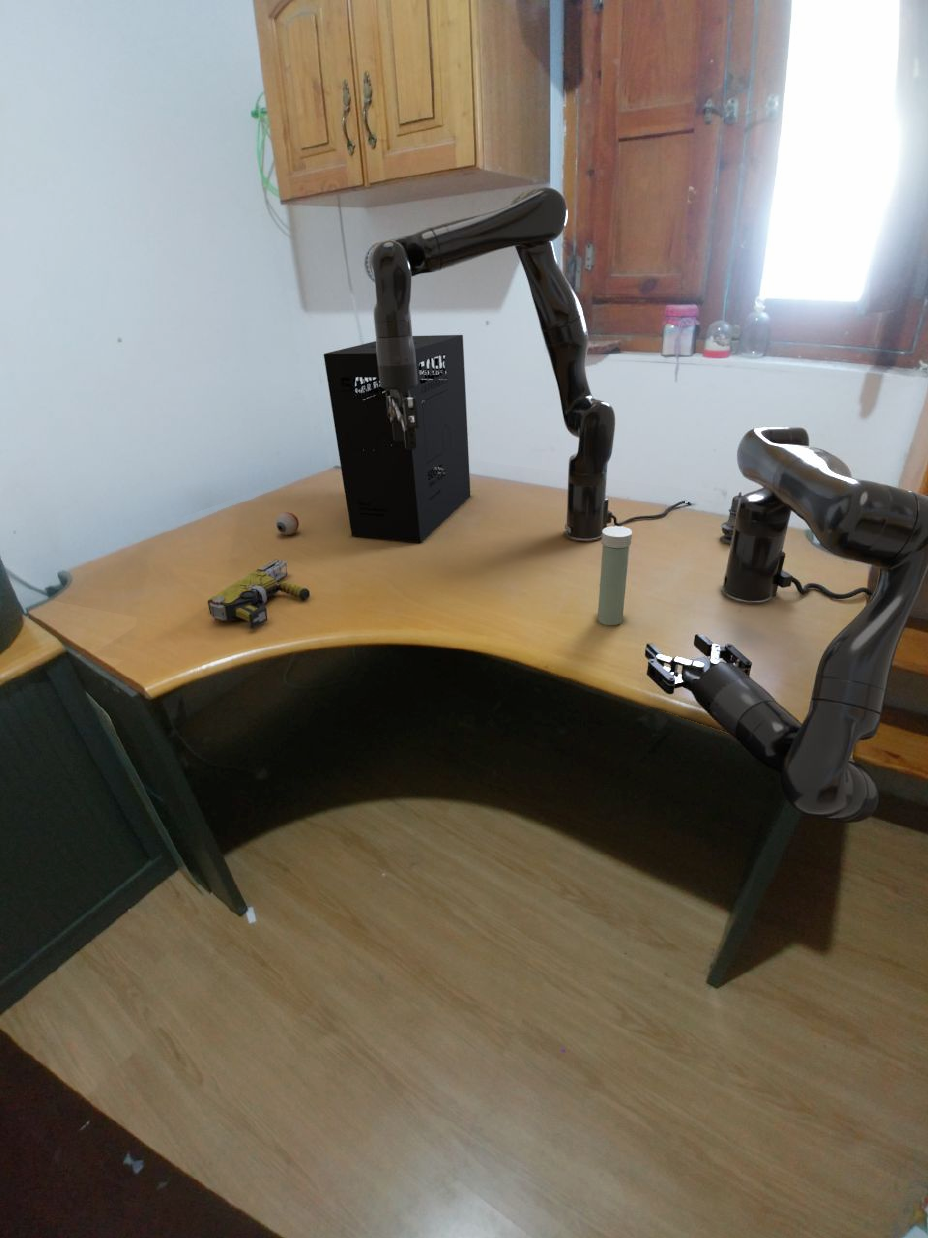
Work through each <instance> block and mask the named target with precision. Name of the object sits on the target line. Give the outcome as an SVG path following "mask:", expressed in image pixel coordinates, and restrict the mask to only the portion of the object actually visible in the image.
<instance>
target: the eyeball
mask: <svg viewBox="0 0 928 1238" xmlns="http://www.w3.org/2000/svg"><path fill="white" fill-rule="evenodd" d="M299 525H300V522H299V519H298V517H297V516H296V515H295V514H294V513H292V512H287V511H286V512H282V513H280V514H279V515H278V516H277V517H276V520H275V527H276V529H277V530H278V531H279V532H280V533H281V534H282V535H285V536H286V535H287V536H289V535H293V534H295V533H296V532H297V531H298V529H299Z"/></svg>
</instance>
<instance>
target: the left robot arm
mask: <svg viewBox="0 0 928 1238" xmlns="http://www.w3.org/2000/svg"><path fill="white" fill-rule="evenodd" d="M568 217H569V209H568V204H567V201H566V199H565V198H564V196H563V195H562V194H561V192H559V190H557V189H555V188H553V187H548V186H540V187H535V188H531V189H528V190H525V191H522V192H520V193H518V194H517V195H515V196H514V198H513V199H512V200H511V202H510V204H509V205H507V206H505V207H503V208H502V207H501V208H499V209H496V210H493V211H490V212H489V211H488V212H486V213H482V214H477V215H472V216H468V217H463V218H462V217H461V218H459V219H454V220H449V221H446V222H443V223H440V224H436V225H433V226H429V227H426V228H423V229H421V230H419V231H416V232H415V233H412V234H409V235H404V236H400V237H395V238H391V239H387V240H384V241H379V242H375V243H373V244H372V245H371V246H370V247H369V248H368V249H367V251H366V252H365V255H364V257H363V258H364V259H363V268H364V271H365V274H366V276H367V278H369V280H371V282H373V283H374V287H375V298H376V299H375V300H376V301H375V304H374V307H373V325H374V333H375V341H376V354H377V363H378V372H379V380H380V381H379V383H380V386H381V388H383V389H385V391H384V392H385V393H386V404H387V416H388V418H390V421H391V423H392V428H393V437H394V440H395V441H403V440H405V448H406V449H407V450H412V449H416V447H417V446H416V435H415V430H416V428H419V422H418V413H417V403H416V397H415V396H413V397H411V396H410V392H409V389H410V388H411V387H415V386H416V385H417V384H418V380H417V369H416V357H415V347H414V342H413V336H414V335H413V328H412V316H411V310H410V309H411V297H412V277H415V276H418V275H423V274H430V273H435V272H439V271H442V270H445V269H449V268H452V267H454V266H455V267H456V266H458V265H461V264H463V263H466V262H469V261H471V260H474V259H477V258H479V257H482V256H485V255H488V254H491V253H495V252H498V251H500V250H504V249H507V248H511V247H514V249H515V250H516V253H517V256H518V258H519V260H520V263H521V266H522V268H523V271H524V274H525V277H526V280H527V283H528V286H529V291H530V295H531V298H532V301H533V305H534V308H535V311H536V315H537V319H538V324H539V328H540V331H541V334H542V337H543V341H544V345H545V349H546V352H547V355H548V357H549V361H550V365H551V369H552V372H553V375H554V378H555V381H556V384H557V386H556V387H557V389H558V395H559V401H560V406H561V412H562V418H563V422H564V426H565V428H566V429H567V431H568V432H569V434H571V435H572V436H573V437H576V438H578V447H577V452H576V453H574V454H572V455H570V456H569V459H568V468H567V469H568V473H567V501H566V502H567V503H566V523H565V524H564V530H565V536H566V537H567V538H568V539H570V540H572V541H576V542H583V543H584V542H586V543H587V542H594V541H599V540H600V539H602V530H603V529H604V528H606V527H608V524H611V523H612V519H613V524H614V526H622V525H625V524H628V523H629V522H632V521H636V520H645V519H657V518H662V517H664V516H665V515H667V514H668V512H670V510H673V509H675V508H676V507H678V506H680V505H683V504H687V505H688V506H692V502H690V501H689V502H688V503H685V501H686V500H682V501H679V502H676V503H674V504H673V505H670V506H668V507H667V508H666V509H665V510H664V511H663V512H661V513H658V514H652V515H638V516H637V515H636V516H632V517H630V518H628V519H626V520H624V521H622V522H618V520H617V517H616V515H614V514H613V512H612V511H610V510H609V498H607V497H606V493H607V477H608V465H609V461H610V460H611V458H612V454H613V448H614V439H615V430H616V414H615V410H614V408H613V406H612V405H611V404H610V403H608V402H606V401H604V400H600V399H597V398H594V397H593V395H592V394H593V393H592V392H591V389H590V386H589V381H588V378H587V373H586V363H587V356H588V349H589V333H588V327H587V323H586V319H585V315H584V311H583V308H582V305H581V302H580V300H579V297H578V295H577V294H576V292H575V290H574V289H573V287H572V285H571V284H570V282H569V280H568V279H567V277H566V276H565V274H564V272H563V271H562V269H561V267H560V263H559V261H558V259H557V256H556V252H555V248H554V244H553V242H554V241H555V240H557V239H558V238H559V237H560V236H561V234H562V233H563V232H564V230H565V228H566V227H567V222H568ZM409 420H410V421H411V423H409Z"/></svg>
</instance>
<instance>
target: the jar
mask: <svg viewBox="0 0 928 1238" xmlns="http://www.w3.org/2000/svg"><path fill="white" fill-rule="evenodd" d="M601 551H602V552H601V565H600V579H599V595H598V608H597V620H598V622H599V623H601V624H603V625H605V626H616V625H620V624H622V622H623V619H624V609H625V608H624V607H625V599H626V598H625V597H626V588H627V586H626V585H627V575H628V566H629V555H630V546H628V547H625V548H610V547H607V546H605V545H603V544H602V550H601Z"/></svg>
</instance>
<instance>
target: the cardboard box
mask: <svg viewBox="0 0 928 1238" xmlns="http://www.w3.org/2000/svg"><path fill="white" fill-rule="evenodd" d="M412 336H413V342H414V347H415V357H416V369H417V380H418V384H417V385H416V386H415V387H411V388H410V389H409V392H410V396H411V397H413V396H415V397H416V403H417V413H418V422H419V428H416V430H415V435H416V446H417V447H416V449H412V450H407V449H406V448H405V440H403V441H395V440H394V437H393V428H392V423H391V421H390V418H388V416H387V404H386V393H385V389H383V388H381V386H380V380H379V372H378V363H377V354H376V340H374V341H371V342H367V343H362V344H359V345H354V346H349V347H346V348H341V349H337V350H334V351H329V352H326V353H323V359H324V367H325V373H326V380H327V385H328V392H329V398H330V399H329V400H330V406H331V412H332V418H333V425H334V430H335V437H336V444H337V451H338V456H339V463H340V469H341V476H342V483H343V489H344V495H345V501H346V503H345V504H346V509H347V514H348V520H349V527H350V528H349V529H350V533H351V535H350V536H351V537H359V538H367V539H376V540H377V539H378V540H388V541H397V542H406V543H407V542H408V543H417V544H421V543H422V542H423V541H425V540H426V538H428V537H429V536H430V535H431V534H432V533H433V532H434V531H435V530H436V529H438V527H439V526H441V524H443V522H445V521H446V520H447V519H448V518H449V517H450V516H452V514H453V513H454V512H455V511H457V509H458V508H459V507H461V506H462V505H463V504H464V503H465V502H466V501H467V500H468V499H469V498H470V497H471V478H470V459H469V458H470V457H469V435H468V415H467V413H468V412H467V394H466V392H467V391H466V374H465V373H466V372H465V371H466V370H465V354H464V353H465V352H464V350H465V349H464V335H463V334H440V335H439V334H438V335H437V334H436V335H435V334H434V335H433V334H432V335H412ZM422 363H423V365H422ZM440 364H441V365H440ZM440 366H441V367H440ZM366 378H367V380H366ZM370 379H371V380H370ZM361 380H362V381H361ZM409 423H411V421H410V420H409Z"/></svg>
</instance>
